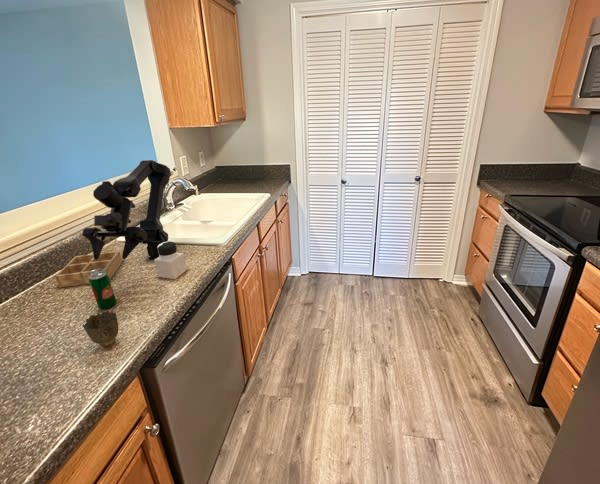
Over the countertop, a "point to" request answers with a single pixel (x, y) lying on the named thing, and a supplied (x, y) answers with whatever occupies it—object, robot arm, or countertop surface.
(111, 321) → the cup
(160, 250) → the medicine bottle
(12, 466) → the countertop surface
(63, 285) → the grid
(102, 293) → the soda can
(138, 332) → the countertop surface
